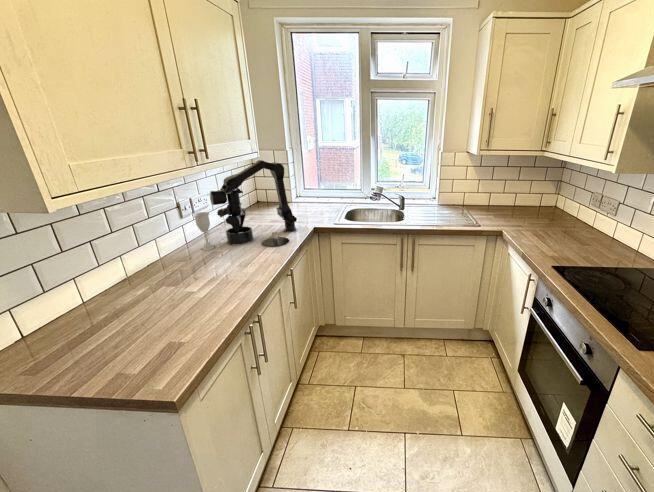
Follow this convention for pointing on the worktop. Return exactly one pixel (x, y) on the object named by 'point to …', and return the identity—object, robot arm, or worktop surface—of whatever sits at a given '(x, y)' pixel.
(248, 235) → the tin
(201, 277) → the worktop surface
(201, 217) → the chalice
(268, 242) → the tin lid
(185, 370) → the worktop surface
